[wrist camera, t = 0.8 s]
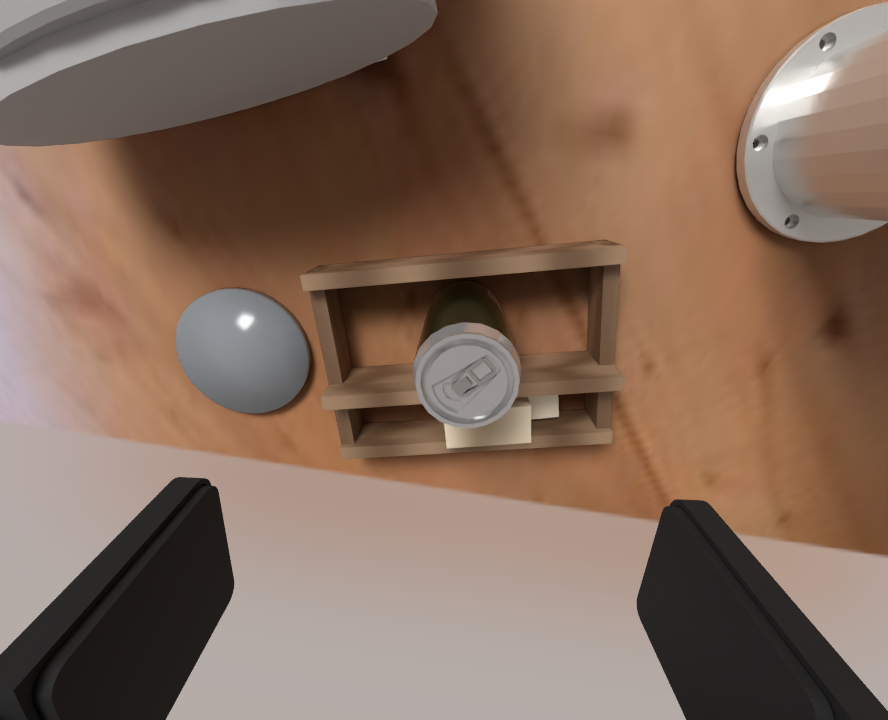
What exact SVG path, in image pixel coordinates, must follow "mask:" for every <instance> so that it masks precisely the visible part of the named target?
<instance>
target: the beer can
mask: <svg viewBox="0 0 888 720" xmlns="http://www.w3.org/2000/svg"><path fill="white" fill-rule="evenodd" d="M521 373H522V369H521V364H520V359H519V355H518V352H517V349H516V347H515V344H514V341H513V339H512V336H511V333H510V331H509V328H508V325H507V323H506V320H505V317H504V315H503V312H502V309H501V307H500V304H499V302H498V300H497V299H496V297H495V295H494V294H493V293H492V292H491V291H490V290H489V289H487V288H486V287H485V286H483V285H481V284H478V283H476V282H471V281H459V282H454V283H450V284H449V285H447V286H445V287H444V288H442V289H440V290H439V291H438V293H437V294H436V295H435V296H434V297H433V298H432V301H431V303H430V306H429V308H428V311H427V315H426V318H425V322H424V326H423V330H422V333H421V337H420V341H419V344H418V348H417V352H416V356H415V359H414V366H413V380H414V383H415V387H416V390H417V393H418V396H419V400H420V402H421V403H422V404H423V406H424V407H425V409H426V410H427V412H428V413H429V414H431V415H432V416H433V417H435V418H436V419H437V420H439V421H440V422H442V423H445V424H448V425H450V426H453V427H459V428H475V427H481V426H486V425H488V424H490V423H492V422H494V421H496V420H498V419H500V418H501V417H502V416H503V415H504V414H505V413H506V412H507V411H508V410H509V409H510V408H511V406H512V404H513V402H514V400H515V399H516V397H517V395H518V389H519V386H520V380H521Z"/></svg>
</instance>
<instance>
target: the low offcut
mask: <svg viewBox="0 0 888 720" xmlns="http://www.w3.org/2000/svg"><path fill="white" fill-rule="evenodd" d="M528 399H529V402H530V405H531V419H542V418H552V417H559V399H558V395H548V396H533V397H528Z"/></svg>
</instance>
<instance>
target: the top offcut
mask: <svg viewBox="0 0 888 720" xmlns="http://www.w3.org/2000/svg"><path fill="white" fill-rule="evenodd" d="M444 428H445V437H446V446H447V449H448V448H462V447H477V446H491V445H506V444H521V443H531V405H530V402H529V399H528V397H518V398H516V399H515V400H514V402H513V404H512V406H511V408H510V409H509V410H508V411H507V412H506V413H505V414H504V415H503V416H502V417H501V418H500V419H498V420H496V421H494V422H492V423H490V424H488V425H486V426H481V427H475V428H459V427H453V426H450V425H448V424H445V423H444Z"/></svg>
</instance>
